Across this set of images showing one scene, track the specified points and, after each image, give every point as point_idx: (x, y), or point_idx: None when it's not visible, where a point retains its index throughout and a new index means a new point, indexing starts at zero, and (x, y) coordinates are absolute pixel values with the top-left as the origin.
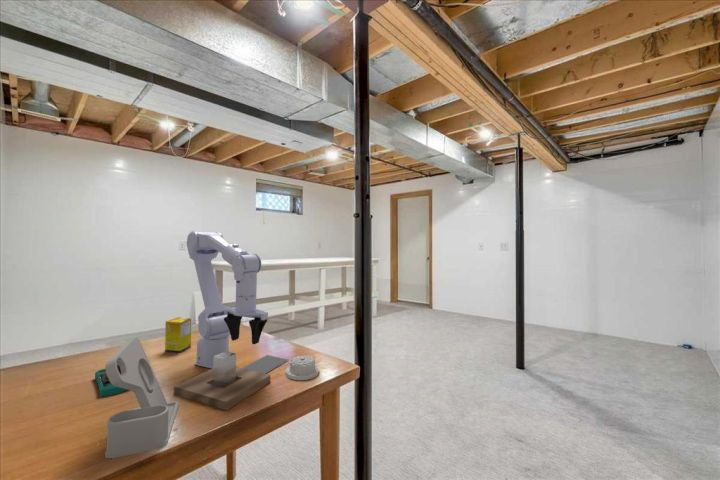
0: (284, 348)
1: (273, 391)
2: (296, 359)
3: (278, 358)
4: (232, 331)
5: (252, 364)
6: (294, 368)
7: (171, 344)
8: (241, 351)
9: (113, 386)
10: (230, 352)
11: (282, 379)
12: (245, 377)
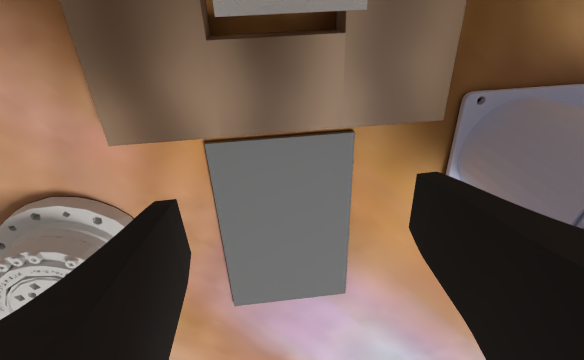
0: (331, 355)
1: (10, 63)
2: None
3: (278, 294)
4: (482, 221)
5: (335, 210)
6: (45, 240)
7: None
8: None
9: None
10: (293, 10)
11: (99, 177)
12: (195, 53)
